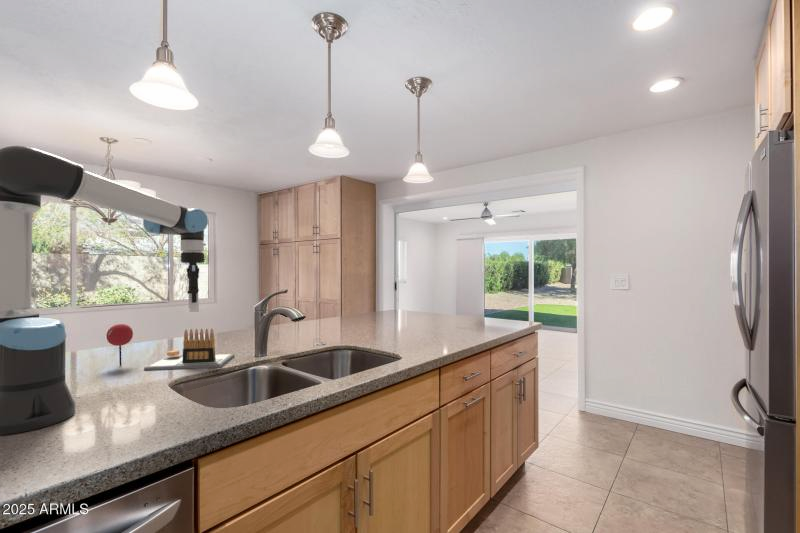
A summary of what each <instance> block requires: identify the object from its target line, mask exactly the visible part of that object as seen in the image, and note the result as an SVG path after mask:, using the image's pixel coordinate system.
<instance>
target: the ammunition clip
mask: <svg viewBox="0 0 800 533" xmlns="http://www.w3.org/2000/svg"><path fill="white" fill-rule="evenodd" d="M193 332H194V333H193ZM215 354H216V347H215V336H214V329H213V328H211V329H210V334H209V329H208V328H206V329H205V331H204V330H203V328H200V332H199V330H198V328H196V329H195V331H193V329H190V330H189V333H188V329H185V330H184V333H183V349H182V355H183V360H182V363H200V362H214V361H215V360H216V358H215Z"/></svg>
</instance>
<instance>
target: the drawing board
mask: <svg viewBox="0 0 800 533" xmlns="http://www.w3.org/2000/svg"><path fill="white" fill-rule="evenodd" d="M234 357H235V353H224V354H223V353H220V354H216V353H215V358H216V360H215V361H214V362H200V363H182V360H183V354H182V355H175V356H167V355H166V356H164V357H162V358H160V359H157V361H156V360H155V362H152V363H151V364H150V363H149V364H148V365H146V366H144V367H143V370H144V371H159V370H181V369H182V370H183V369H207V368H221V367H223V366H224V365H225V364H226V363H228V362H229V361H230V360H231V359H233V358H234Z"/></svg>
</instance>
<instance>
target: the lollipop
mask: <svg viewBox="0 0 800 533" xmlns="http://www.w3.org/2000/svg"><path fill="white" fill-rule="evenodd" d="M133 336H134V332H133V328H132V327H131V326H129V325H127V324H124V323H118V324H115V325H112V326H111V327H110V328H108V330H107V332H106V340H107V342H108V343H109V344H111V346H114V347H115V346H117V347H119V348H118V349H119V350H118V351H119V355H118V356H119V365H121V366H122V346H125V345H127V344H128V343H129V342H131V341H132V339H133Z"/></svg>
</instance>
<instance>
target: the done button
mask: <svg viewBox="0 0 800 533" xmlns="http://www.w3.org/2000/svg"><path fill="white" fill-rule="evenodd" d="M166 356H180V350H178V349H177V350H169V351H167V352H166Z"/></svg>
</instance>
